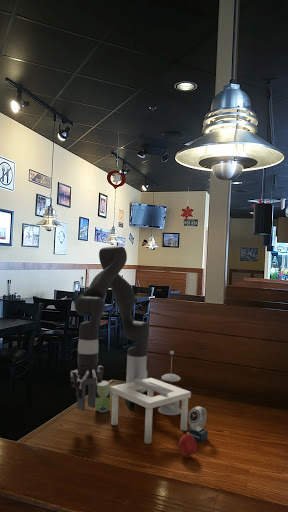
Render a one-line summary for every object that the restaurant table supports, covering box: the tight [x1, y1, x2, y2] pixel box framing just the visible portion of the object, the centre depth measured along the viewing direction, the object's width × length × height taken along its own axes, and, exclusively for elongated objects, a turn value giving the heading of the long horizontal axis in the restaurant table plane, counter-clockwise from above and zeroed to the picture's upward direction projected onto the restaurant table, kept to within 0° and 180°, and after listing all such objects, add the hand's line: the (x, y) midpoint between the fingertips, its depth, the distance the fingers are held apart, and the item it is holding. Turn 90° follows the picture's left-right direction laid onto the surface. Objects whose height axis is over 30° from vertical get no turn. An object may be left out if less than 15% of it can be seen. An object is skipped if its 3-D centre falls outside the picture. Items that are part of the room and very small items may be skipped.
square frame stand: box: [110, 377, 192, 445], centre depth 151 cm, size 21×22×16 cm
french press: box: [156, 350, 181, 416], centre depth 169 cm, size 10×12×25 cm
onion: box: [178, 431, 198, 458], centre depth 128 cm, size 6×6×8 cm
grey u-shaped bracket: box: [76, 377, 96, 412], centre depth 148 cm, size 6×4×11 cm, turn 132°
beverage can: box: [95, 380, 111, 413], centre depth 165 cm, size 6×7×12 cm
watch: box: [187, 405, 209, 444], centre depth 142 cm, size 6×8×11 cm
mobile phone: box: [124, 398, 136, 409], centre depth 176 cm, size 5×3×15 cm
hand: (86, 396), depth 148 cm, fingers closed on grey u-shaped bracket, 5 cm apart
